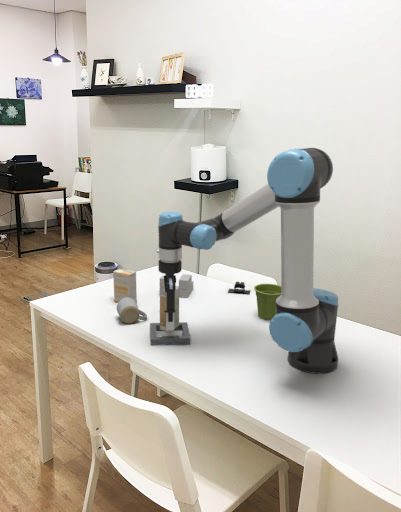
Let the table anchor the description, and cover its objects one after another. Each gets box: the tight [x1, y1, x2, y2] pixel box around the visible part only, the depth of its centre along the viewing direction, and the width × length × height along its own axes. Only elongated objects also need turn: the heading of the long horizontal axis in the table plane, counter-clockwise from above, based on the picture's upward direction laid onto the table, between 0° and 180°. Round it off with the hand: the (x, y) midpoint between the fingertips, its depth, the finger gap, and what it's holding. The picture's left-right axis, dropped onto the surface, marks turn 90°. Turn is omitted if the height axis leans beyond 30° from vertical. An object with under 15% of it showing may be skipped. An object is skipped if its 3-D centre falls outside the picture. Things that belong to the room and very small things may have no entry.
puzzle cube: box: [159, 273, 194, 299], centre depth 208 cm, size 12×12×8 cm
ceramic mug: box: [116, 297, 148, 324], centre depth 178 cm, size 11×8×8 cm
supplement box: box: [112, 268, 138, 304], centre depth 194 cm, size 8×5×13 cm, turn 58°
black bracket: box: [227, 281, 251, 296], centre depth 210 cm, size 12×7×5 cm, turn 78°
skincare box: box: [159, 292, 180, 333], centre depth 164 cm, size 6×4×12 cm
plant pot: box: [253, 283, 281, 321], centre depth 183 cm, size 12×12×11 cm
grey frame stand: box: [149, 321, 192, 346], centre depth 175 cm, size 31×13×2 cm, turn 6°
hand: (169, 324), depth 165 cm, fingers closed on skincare box, 7 cm apart
